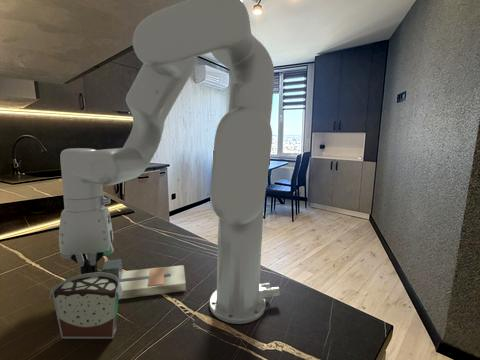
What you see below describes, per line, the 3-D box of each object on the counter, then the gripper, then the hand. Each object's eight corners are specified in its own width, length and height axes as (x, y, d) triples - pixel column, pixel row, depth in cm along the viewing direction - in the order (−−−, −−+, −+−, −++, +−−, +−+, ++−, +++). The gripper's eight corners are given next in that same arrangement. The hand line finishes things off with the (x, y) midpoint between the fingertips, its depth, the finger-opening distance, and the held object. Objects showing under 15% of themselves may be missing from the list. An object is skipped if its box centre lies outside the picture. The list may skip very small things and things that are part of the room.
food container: (134, 315, 53) (132, 271, 51) (121, 338, 47) (119, 289, 45) (73, 315, 52) (70, 270, 51) (53, 338, 46) (48, 288, 45)
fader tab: (122, 273, 64) (121, 259, 63) (119, 283, 59) (118, 267, 59) (107, 275, 63) (106, 260, 62) (102, 285, 59) (101, 269, 58)
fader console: (183, 271, 70) (183, 264, 70) (185, 290, 62) (185, 282, 61) (95, 281, 64) (95, 273, 64) (84, 303, 56) (83, 294, 56)
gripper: (123, 198, 62) (126, 267, 65) (53, 200, 58) (59, 274, 61) (117, 206, 55) (121, 283, 58) (37, 209, 51) (45, 292, 54)
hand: (89, 278), depth 60 cm, fingers closed
